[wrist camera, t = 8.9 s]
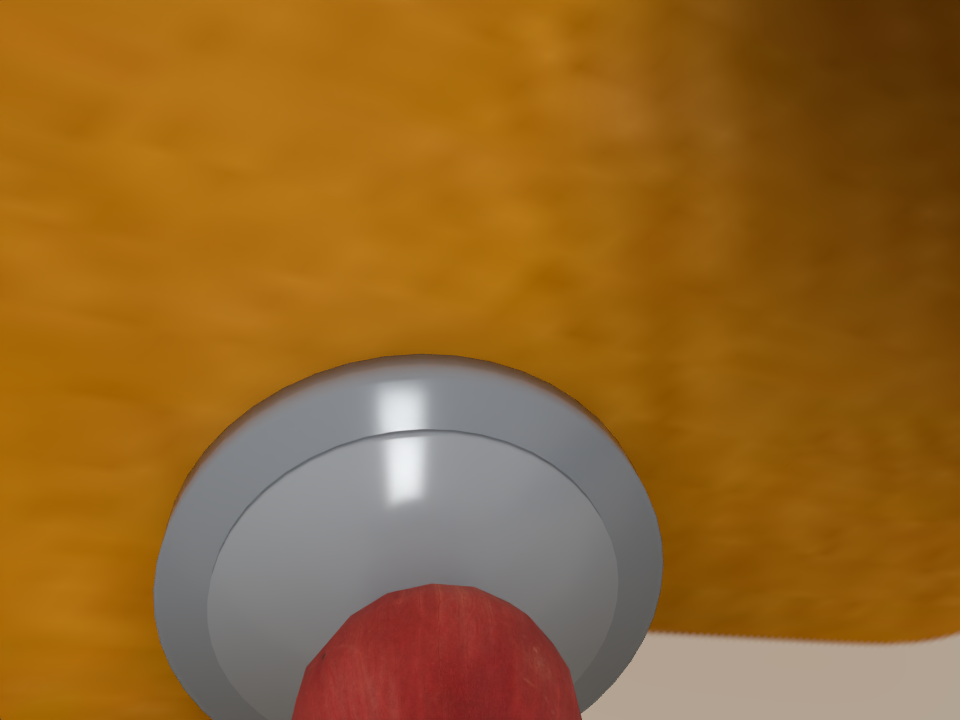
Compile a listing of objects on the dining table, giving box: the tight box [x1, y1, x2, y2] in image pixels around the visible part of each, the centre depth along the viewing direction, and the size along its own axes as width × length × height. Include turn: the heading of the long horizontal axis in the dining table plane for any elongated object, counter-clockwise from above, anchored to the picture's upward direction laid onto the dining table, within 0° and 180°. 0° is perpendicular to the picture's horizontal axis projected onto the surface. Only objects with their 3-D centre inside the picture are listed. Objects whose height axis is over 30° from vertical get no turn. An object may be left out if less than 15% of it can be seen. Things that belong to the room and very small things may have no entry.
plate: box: [153, 354, 663, 720], centre depth 22 cm, size 12×12×2 cm
